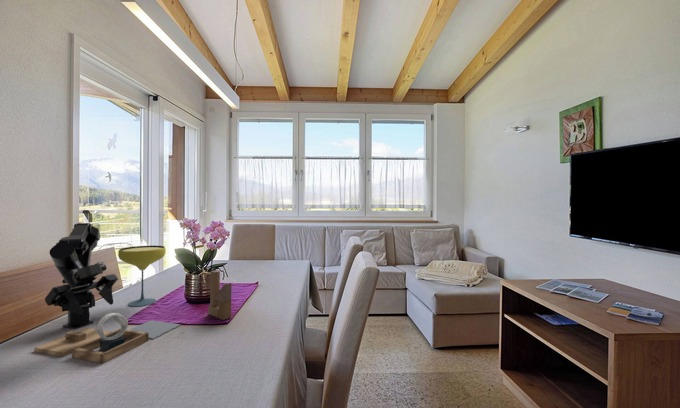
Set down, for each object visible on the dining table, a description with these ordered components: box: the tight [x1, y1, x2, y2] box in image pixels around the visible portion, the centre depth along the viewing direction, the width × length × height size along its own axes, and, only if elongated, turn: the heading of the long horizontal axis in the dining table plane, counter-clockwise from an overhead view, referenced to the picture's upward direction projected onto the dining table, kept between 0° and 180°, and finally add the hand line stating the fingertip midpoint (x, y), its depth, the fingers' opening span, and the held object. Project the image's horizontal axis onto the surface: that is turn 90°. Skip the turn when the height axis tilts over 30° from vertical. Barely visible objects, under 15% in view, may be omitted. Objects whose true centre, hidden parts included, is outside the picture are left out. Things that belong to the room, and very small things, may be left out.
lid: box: [33, 327, 113, 358], centre depth 98 cm, size 12×15×3 cm
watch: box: [96, 312, 129, 352], centre depth 95 cm, size 6×8×11 cm
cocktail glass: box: [117, 245, 167, 308], centre depth 138 cm, size 18×18×25 cm
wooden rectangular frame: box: [71, 328, 149, 364], centre depth 95 cm, size 12×15×2 cm
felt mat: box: [129, 319, 181, 340], centre depth 109 cm, size 14×12×1 cm
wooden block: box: [207, 270, 232, 321], centre depth 123 cm, size 4×11×18 cm, turn 55°
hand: (97, 308), depth 96 cm, fingers open, 9 cm apart
